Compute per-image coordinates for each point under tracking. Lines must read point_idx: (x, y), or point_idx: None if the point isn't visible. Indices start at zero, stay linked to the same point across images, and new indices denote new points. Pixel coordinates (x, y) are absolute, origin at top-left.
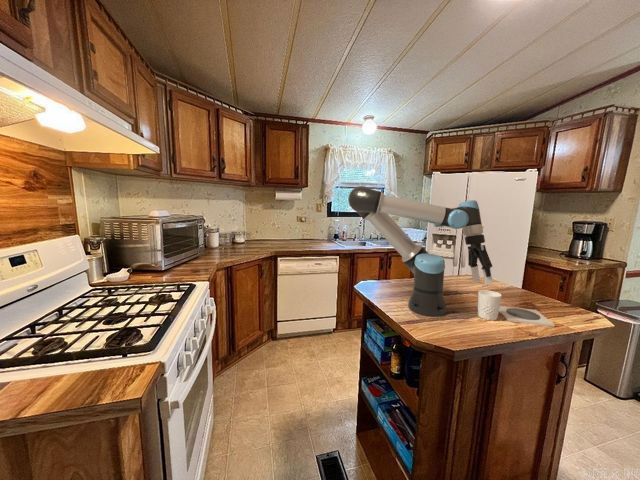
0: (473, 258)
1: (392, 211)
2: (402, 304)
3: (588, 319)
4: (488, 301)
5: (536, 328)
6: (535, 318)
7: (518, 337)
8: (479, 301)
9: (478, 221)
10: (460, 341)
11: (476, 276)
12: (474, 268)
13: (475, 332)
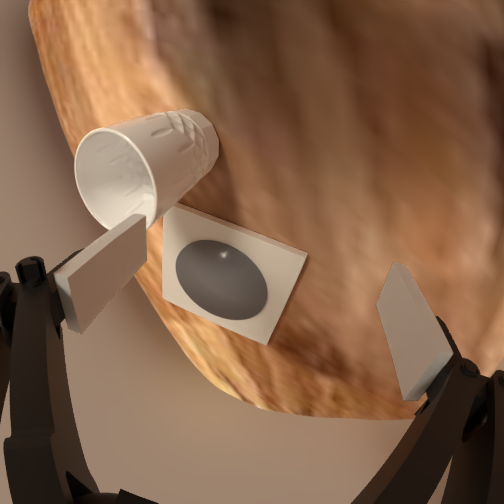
0: (382, 483)
1: None
2: None
3: (233, 384)
4: (98, 148)
5: None
6: (185, 286)
7: None
8: (132, 118)
9: None
10: (45, 18)
11: (393, 310)
12: (416, 364)
13: (76, 56)
